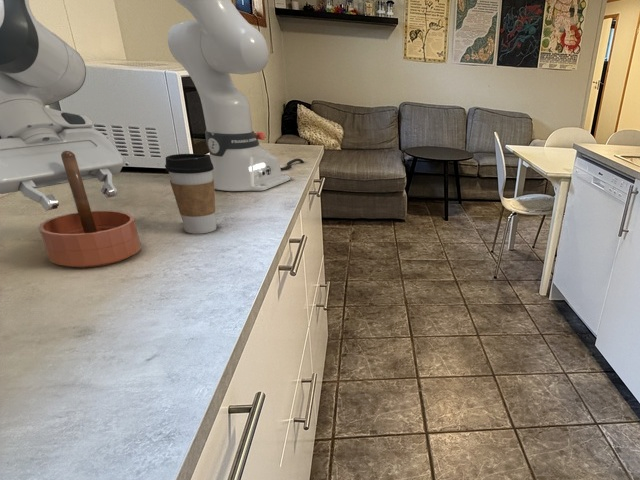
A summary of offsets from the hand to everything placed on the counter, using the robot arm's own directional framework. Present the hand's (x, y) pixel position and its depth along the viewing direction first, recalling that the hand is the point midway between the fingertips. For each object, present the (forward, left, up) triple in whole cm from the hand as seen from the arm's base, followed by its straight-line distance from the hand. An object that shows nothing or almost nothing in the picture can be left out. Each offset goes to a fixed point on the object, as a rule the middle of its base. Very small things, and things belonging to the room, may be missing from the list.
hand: (84, 201), depth 78 cm
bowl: (0, -1, -10) cm, 10 cm away
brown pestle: (0, -1, -9) cm, 9 cm away
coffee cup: (-19, +2, -10) cm, 22 cm away
